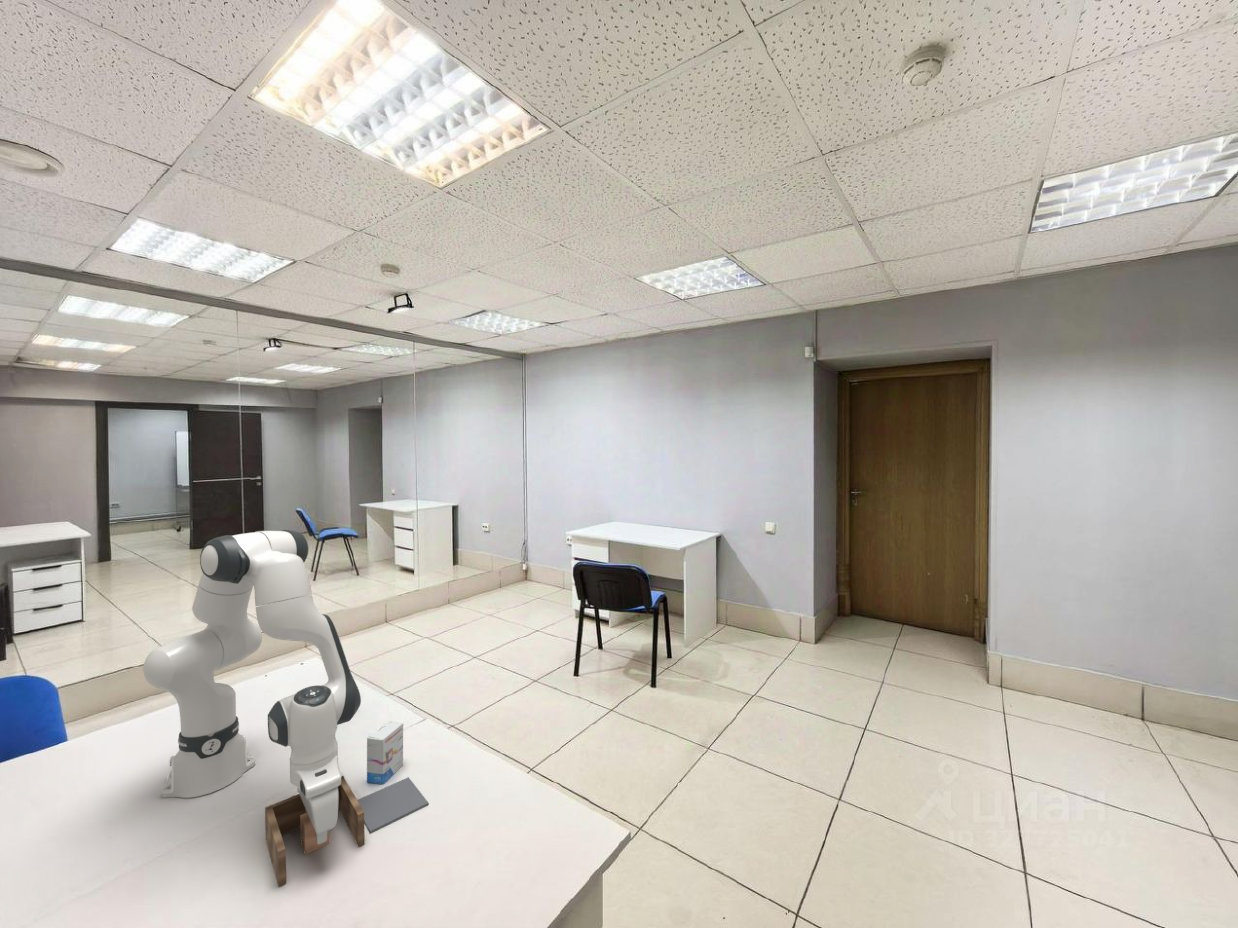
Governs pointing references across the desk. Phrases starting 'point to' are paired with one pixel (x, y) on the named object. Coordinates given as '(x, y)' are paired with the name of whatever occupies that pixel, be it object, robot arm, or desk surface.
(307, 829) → the terracotta block
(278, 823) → the walnut cubby
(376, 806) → the slate mat
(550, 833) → the desk surface
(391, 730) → the ink box
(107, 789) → the desk surface
